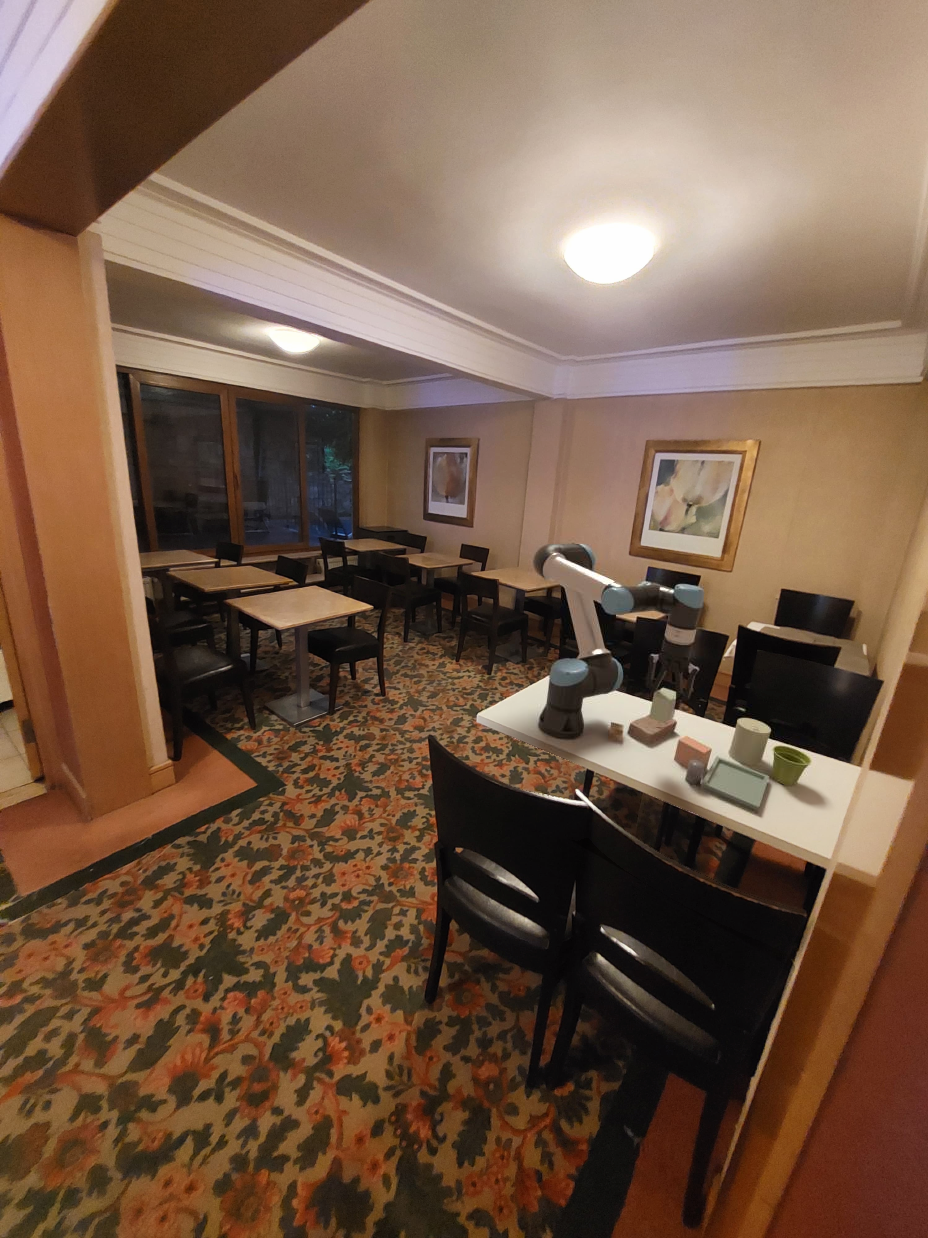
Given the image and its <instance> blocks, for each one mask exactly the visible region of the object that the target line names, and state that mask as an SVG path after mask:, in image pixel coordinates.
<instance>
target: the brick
mask: <svg viewBox="0 0 928 1238" xmlns="http://www.w3.org/2000/svg"><path fill="white" fill-rule="evenodd" d="M649 716H650V713H649V714H648V715H646V716H644V717H640V718H638V719H637V718H636V719H635V720H632V721H631V722H629V726H628V728H627V729H628V730H627V734H628V735H629V736H631V737H632V738H635V739H636V740H638V741H639V742H641V743H643V744H645V745H649V744H652V743H653V742H655V741H658V740H659V739H662V738H664V737H666V736H668V735H670V734H672V733H673V732H675V730H676V727H677V723H678V721H677V720H676V719H674V718H672V719H671V720H668V721H667V722H666V723H662V722H659V721H657V720H654V719H651V718H649Z"/></svg>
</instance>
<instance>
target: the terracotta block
mask: <svg viewBox="0 0 928 1238" xmlns="http://www.w3.org/2000/svg"><path fill="white" fill-rule="evenodd" d="M712 750H713V748H712V747H710V746H707V745H706V744H703V743H702V742H700V741H698V740H696V739H695V738H694V739H693V738H691V737H690V736H688V735H685V736H684V737H682V738H680V739H678V741H677V745H676V749H675V753H674V758H673V760H675V761H676V762H678V763H680V764H681V765H683V766H685V767H686V768H688V765H689V761H690V760H698V761H700V762H702V763H703V764H704V765H705V768H704V771H705V770H707V769H708V765H709V762H710V757H711V754H712V752H713V751H712Z"/></svg>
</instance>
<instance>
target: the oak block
mask: <svg viewBox="0 0 928 1238" xmlns="http://www.w3.org/2000/svg"><path fill="white" fill-rule="evenodd" d="M624 727H625V725H624V724H621V723H618V722H617V723H616V722H613V721H611V722H610V725H609V733H608V739H609V740H610V739H611V740H614V741H619V742H622V740H623V734H624Z"/></svg>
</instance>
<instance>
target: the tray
mask: <svg viewBox="0 0 928 1238" xmlns="http://www.w3.org/2000/svg"><path fill="white" fill-rule="evenodd" d="M769 778H770V776H769V775H767V774H764V773H762V772H759V771H756V770H753V769H751V768H749V767H746V766H743V765H741V764H739V763H736V762H732V761H730V760H727V759H725V758H723V757H720V756H718V755H717V756H715V759H714V760H713V762H712V763H711V766H710V767H709V770H707V772H706V774H705V776H704V777H703V779H702V781H701V783H700V788H699V790H701V791H704V792H706V793H709V794H711V795H713V796H716V797H718V798H721V799H723V800H725V801H727V802H729V803H732V804H734V805H737V806H740V807H741V808H744V809H746V810H749V811H751V812H753V813H756V814H758V812H759V809H760V806H761V803H762V799H763V797H764V794H765V791H766V788H767V785H768V782H769Z"/></svg>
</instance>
